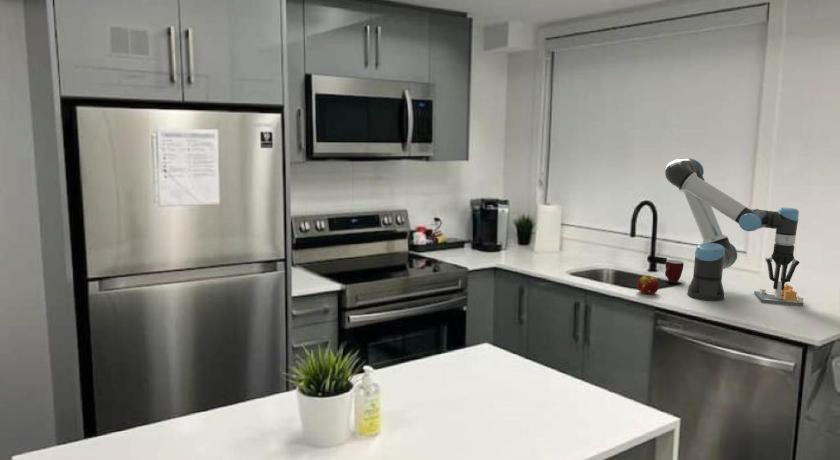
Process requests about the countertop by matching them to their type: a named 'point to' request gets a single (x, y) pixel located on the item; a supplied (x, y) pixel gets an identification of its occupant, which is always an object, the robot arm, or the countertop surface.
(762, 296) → the switch board
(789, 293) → the tab front
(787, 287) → the tab back
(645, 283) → the fruit
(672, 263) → the mug
